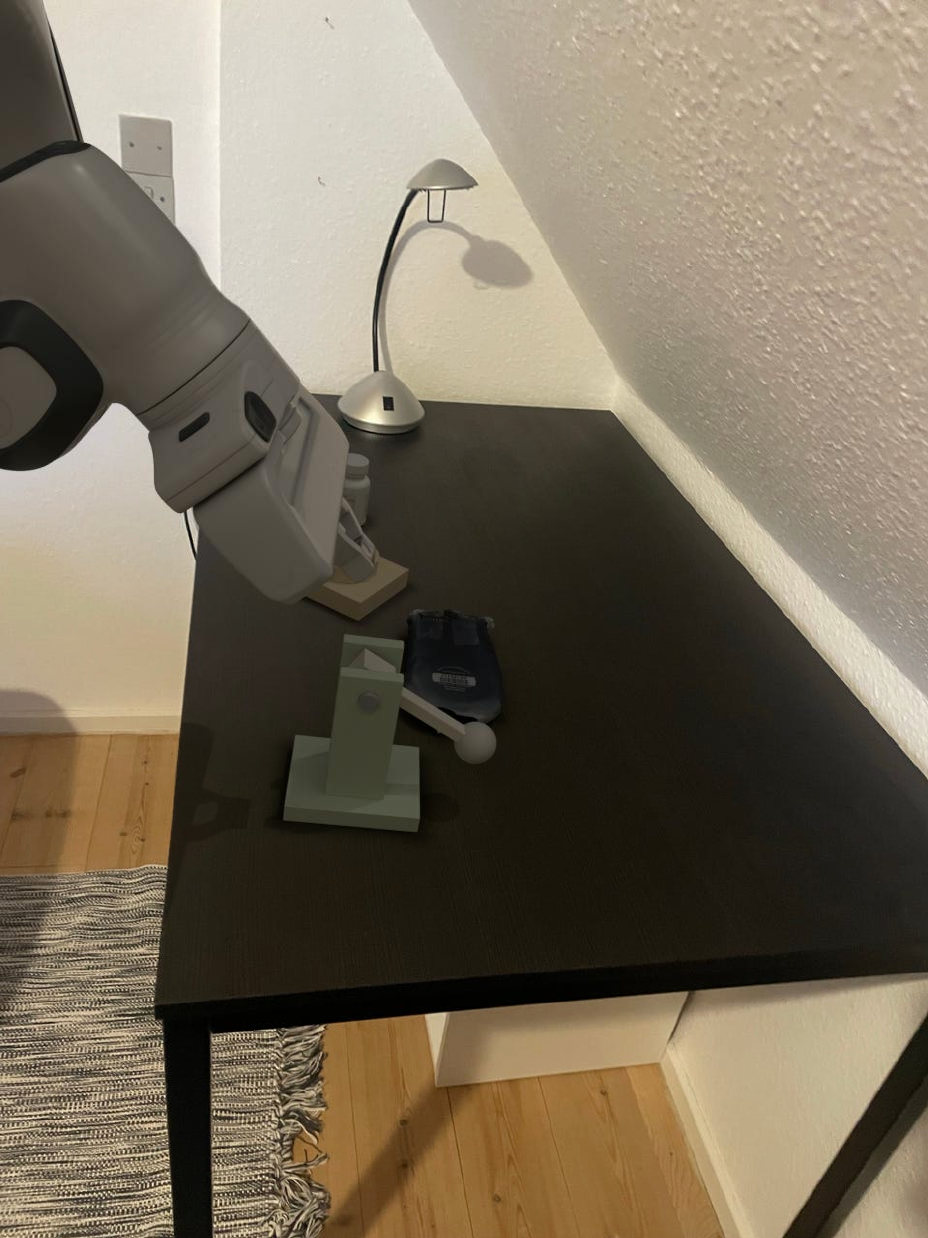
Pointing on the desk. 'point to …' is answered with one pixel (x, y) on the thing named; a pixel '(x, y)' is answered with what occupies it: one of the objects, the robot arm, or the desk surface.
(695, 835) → the desk surface
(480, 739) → the switch lever
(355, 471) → the pill bottle
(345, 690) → the switch base
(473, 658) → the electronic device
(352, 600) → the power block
